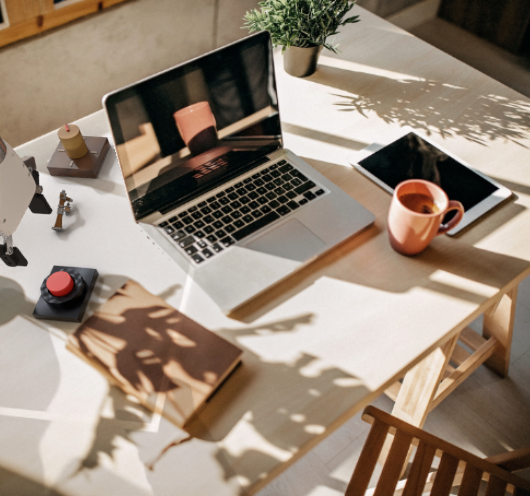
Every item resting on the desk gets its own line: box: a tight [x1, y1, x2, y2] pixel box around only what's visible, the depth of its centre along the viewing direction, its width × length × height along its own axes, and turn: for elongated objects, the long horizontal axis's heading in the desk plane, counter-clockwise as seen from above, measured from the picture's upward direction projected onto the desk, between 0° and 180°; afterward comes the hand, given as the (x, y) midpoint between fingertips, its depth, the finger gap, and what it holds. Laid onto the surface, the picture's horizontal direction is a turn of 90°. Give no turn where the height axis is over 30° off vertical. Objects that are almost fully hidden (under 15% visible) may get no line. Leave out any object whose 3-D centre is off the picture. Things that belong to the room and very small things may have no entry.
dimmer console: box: [46, 135, 111, 179], centre depth 105 cm, size 10×10×3 cm
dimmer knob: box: [56, 123, 88, 159], centre depth 102 cm, size 4×4×6 cm
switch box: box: [32, 264, 100, 324], centre depth 85 cm, size 8×10×4 cm
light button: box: [46, 271, 74, 297], centre depth 83 cm, size 4×4×2 cm
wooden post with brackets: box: [50, 189, 74, 232], centre depth 96 cm, size 2×8×4 cm, turn 174°
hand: (30, 237), depth 74 cm, fingers open, 9 cm apart
